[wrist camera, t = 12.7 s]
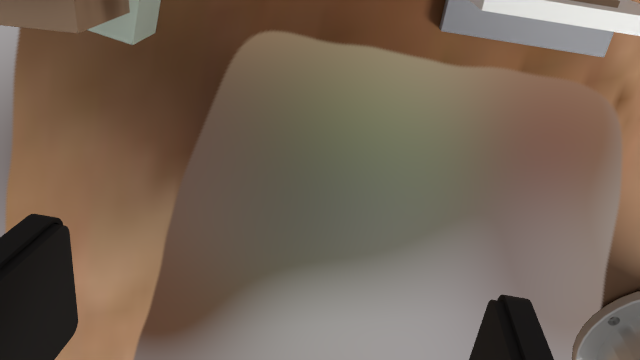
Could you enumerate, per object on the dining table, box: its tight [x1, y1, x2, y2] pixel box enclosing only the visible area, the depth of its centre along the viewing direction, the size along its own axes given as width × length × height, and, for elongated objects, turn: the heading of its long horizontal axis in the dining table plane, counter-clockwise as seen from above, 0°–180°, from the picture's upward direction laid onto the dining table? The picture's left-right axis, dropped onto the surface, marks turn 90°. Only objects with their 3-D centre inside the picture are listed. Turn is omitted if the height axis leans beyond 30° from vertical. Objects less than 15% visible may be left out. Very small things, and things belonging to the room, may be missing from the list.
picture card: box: [439, 0, 640, 57], centre depth 27 cm, size 6×10×10 cm, turn 82°
